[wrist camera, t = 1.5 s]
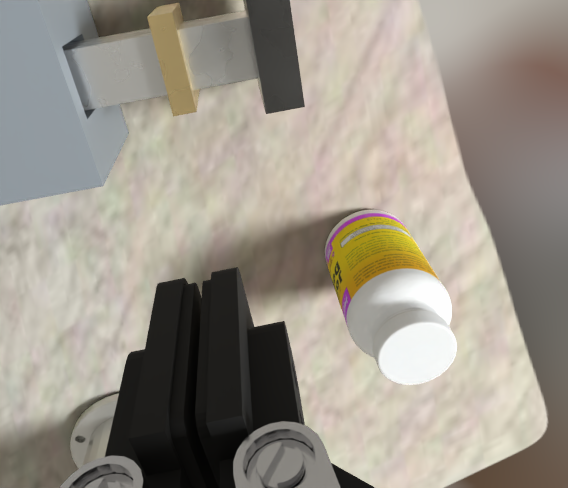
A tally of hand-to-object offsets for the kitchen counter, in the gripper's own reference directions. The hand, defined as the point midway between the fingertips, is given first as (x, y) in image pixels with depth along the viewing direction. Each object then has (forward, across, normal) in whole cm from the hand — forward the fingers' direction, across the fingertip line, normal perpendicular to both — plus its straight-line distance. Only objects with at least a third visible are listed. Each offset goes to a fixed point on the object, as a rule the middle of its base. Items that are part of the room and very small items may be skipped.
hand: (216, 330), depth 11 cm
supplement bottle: (+27, -8, +15) cm, 32 cm away
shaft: (+24, +3, -2) cm, 24 cm away
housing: (+26, +11, -2) cm, 29 cm away
